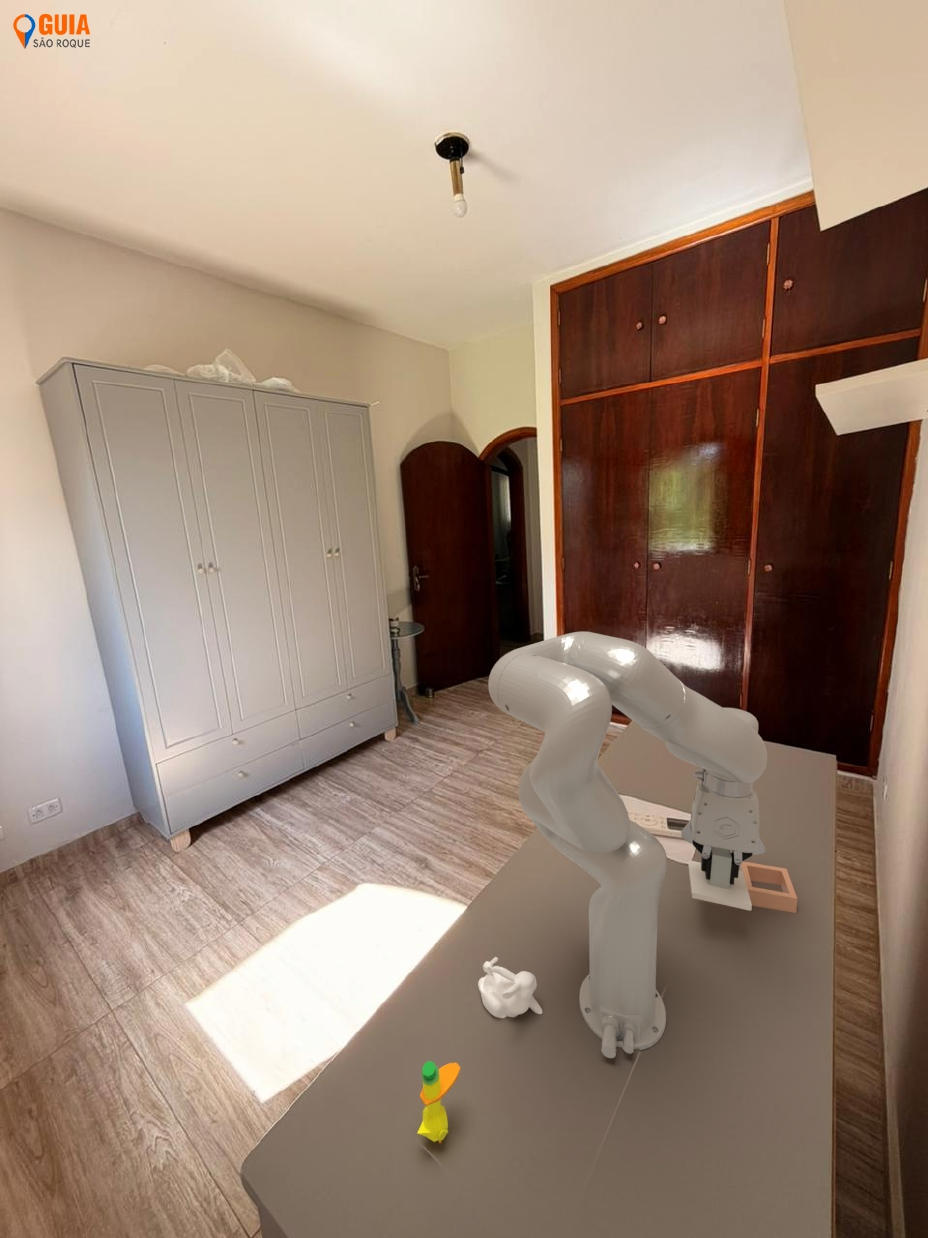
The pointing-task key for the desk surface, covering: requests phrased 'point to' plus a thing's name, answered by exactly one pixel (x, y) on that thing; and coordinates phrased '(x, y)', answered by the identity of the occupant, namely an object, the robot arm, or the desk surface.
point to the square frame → (769, 897)
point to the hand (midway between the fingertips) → (718, 876)
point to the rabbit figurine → (507, 991)
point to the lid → (719, 882)
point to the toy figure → (436, 1098)
